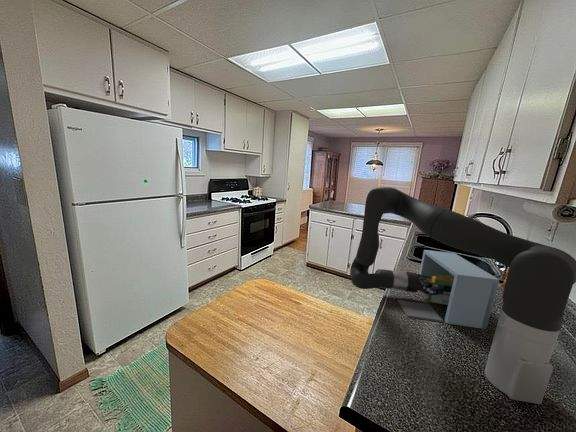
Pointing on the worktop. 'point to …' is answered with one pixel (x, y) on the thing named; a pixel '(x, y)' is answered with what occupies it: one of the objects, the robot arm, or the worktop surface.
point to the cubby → (463, 288)
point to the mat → (419, 310)
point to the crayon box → (446, 295)
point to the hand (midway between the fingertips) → (450, 287)
